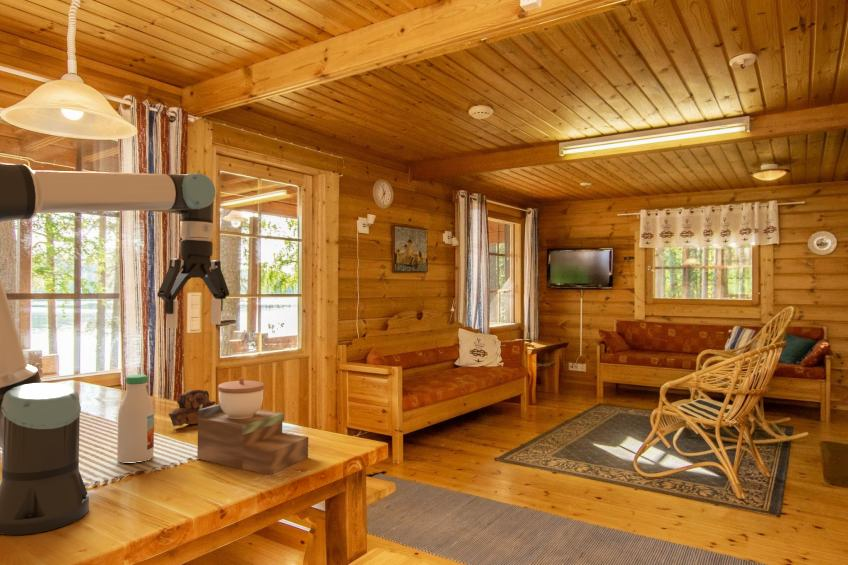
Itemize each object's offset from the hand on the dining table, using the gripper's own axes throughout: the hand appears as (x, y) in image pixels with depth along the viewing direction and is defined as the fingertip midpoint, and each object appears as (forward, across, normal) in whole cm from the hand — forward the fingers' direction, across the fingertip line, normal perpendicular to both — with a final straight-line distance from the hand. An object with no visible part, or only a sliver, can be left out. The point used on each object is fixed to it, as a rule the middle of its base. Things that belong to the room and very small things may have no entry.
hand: (194, 326), depth 143 cm
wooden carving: (+32, +20, +21) cm, 43 cm away
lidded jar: (+22, +3, -12) cm, 25 cm away
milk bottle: (+32, -10, +8) cm, 34 cm away
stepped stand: (+32, +4, -16) cm, 36 cm away
